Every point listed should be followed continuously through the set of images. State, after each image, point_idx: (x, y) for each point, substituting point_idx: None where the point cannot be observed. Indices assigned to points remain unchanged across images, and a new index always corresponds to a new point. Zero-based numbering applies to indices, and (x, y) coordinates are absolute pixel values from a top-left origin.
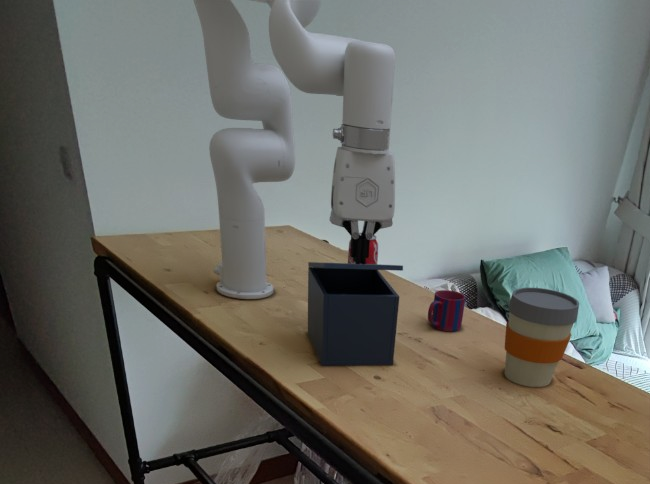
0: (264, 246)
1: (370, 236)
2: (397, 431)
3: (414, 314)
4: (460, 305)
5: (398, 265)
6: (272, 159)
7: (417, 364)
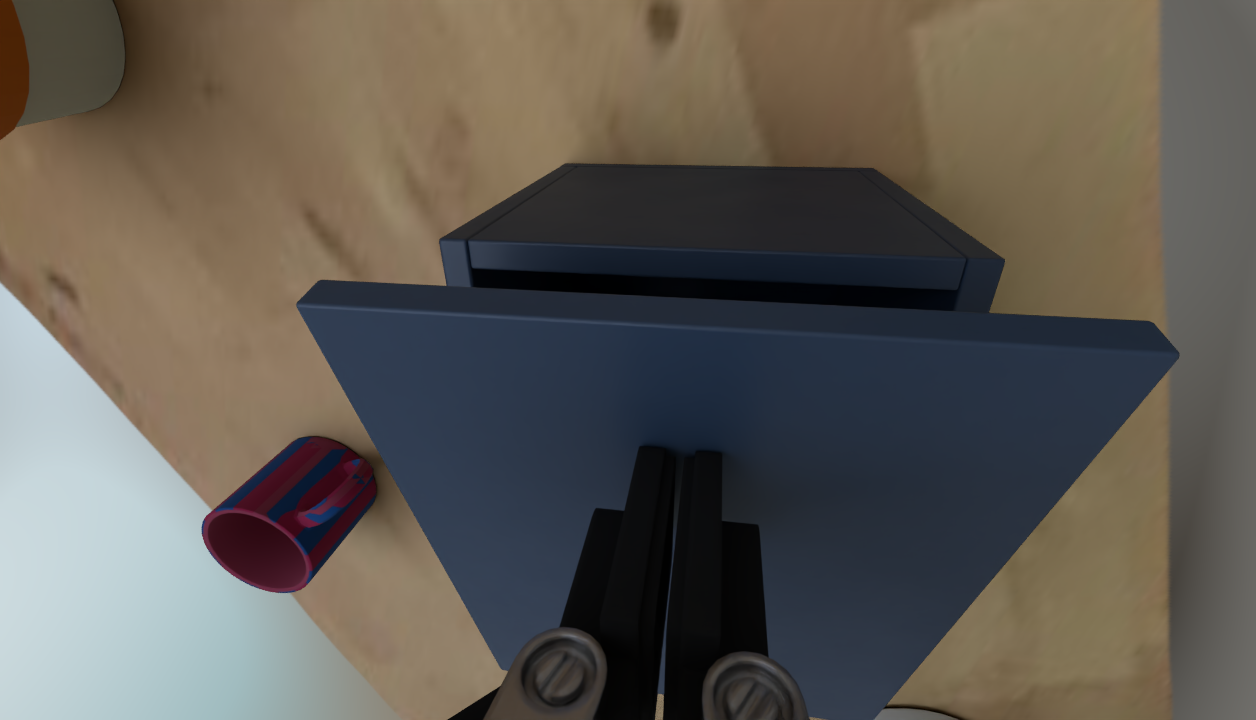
0: None
1: (542, 664)
2: None
3: (420, 564)
4: (232, 495)
5: (337, 306)
6: None
7: (464, 165)
